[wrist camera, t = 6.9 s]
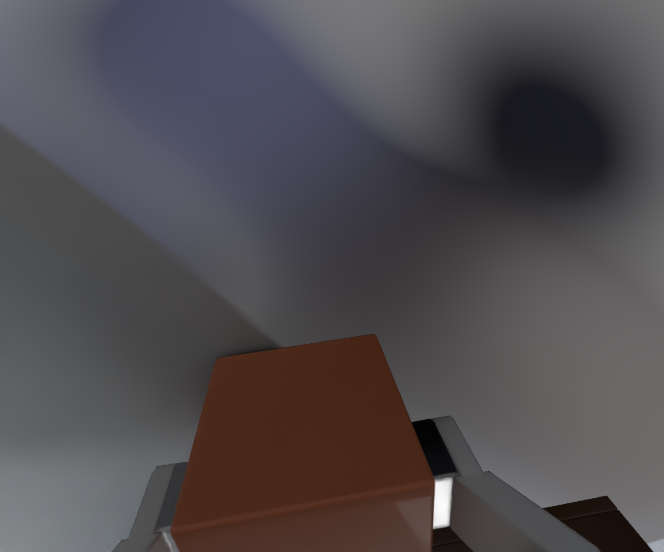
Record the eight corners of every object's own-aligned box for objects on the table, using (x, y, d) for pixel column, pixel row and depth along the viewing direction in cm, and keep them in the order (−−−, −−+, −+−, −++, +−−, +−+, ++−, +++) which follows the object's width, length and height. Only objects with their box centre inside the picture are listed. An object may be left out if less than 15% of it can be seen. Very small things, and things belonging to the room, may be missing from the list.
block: (247, 465, 12) (229, 653, 8) (215, 356, 10) (166, 533, 6) (381, 441, 12) (430, 611, 8) (375, 331, 10) (437, 482, 6)
